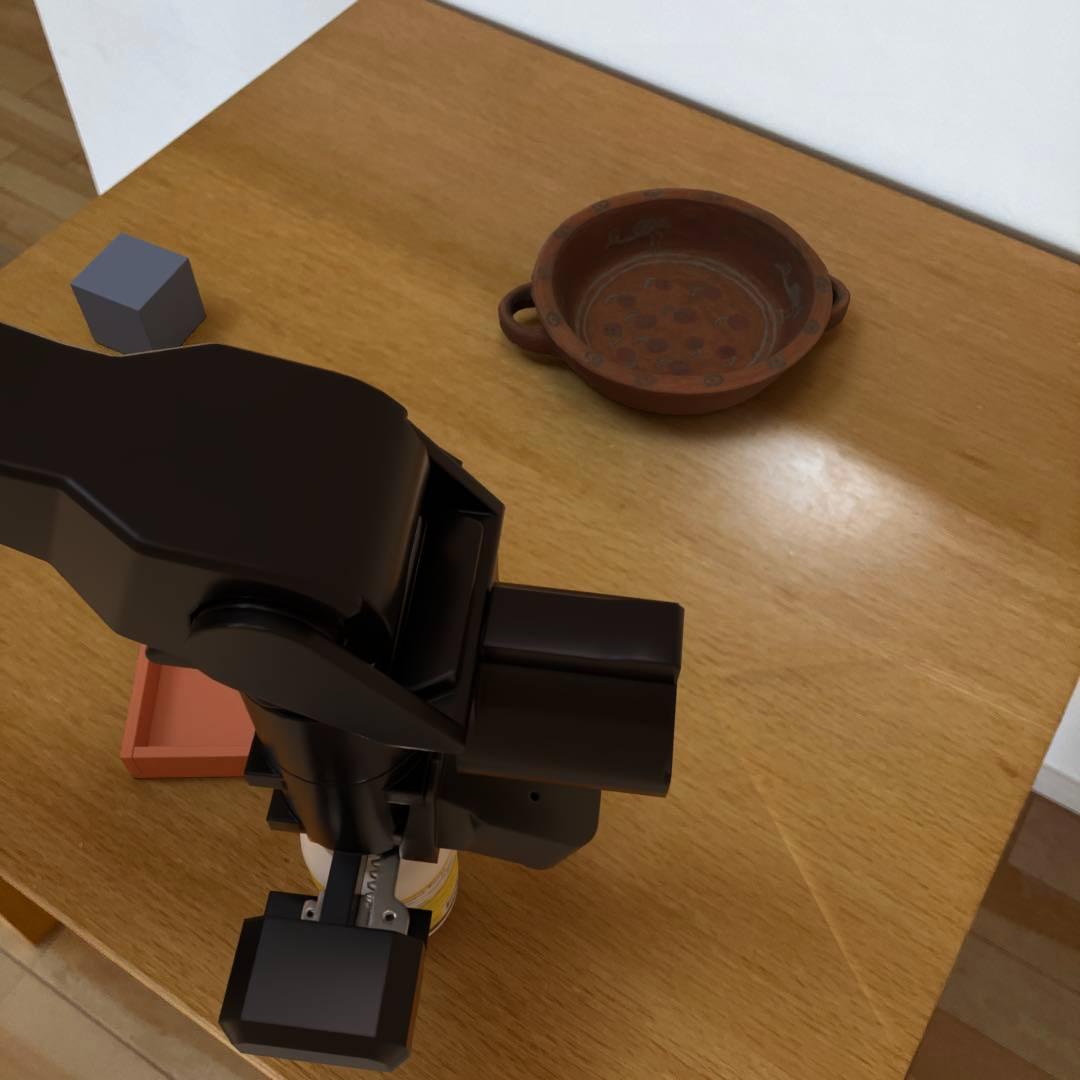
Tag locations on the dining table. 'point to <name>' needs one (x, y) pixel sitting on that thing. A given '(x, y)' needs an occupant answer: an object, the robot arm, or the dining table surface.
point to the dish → (676, 299)
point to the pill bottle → (400, 879)
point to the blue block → (138, 296)
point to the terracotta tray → (184, 724)
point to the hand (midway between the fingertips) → (387, 860)
